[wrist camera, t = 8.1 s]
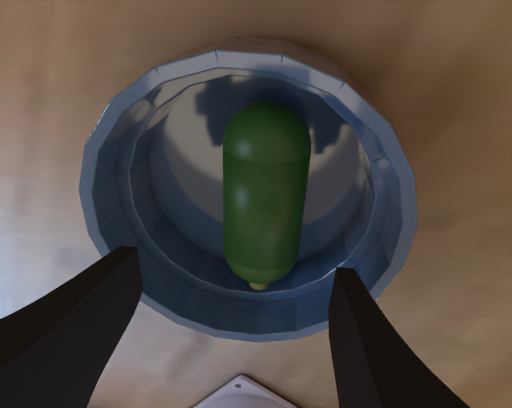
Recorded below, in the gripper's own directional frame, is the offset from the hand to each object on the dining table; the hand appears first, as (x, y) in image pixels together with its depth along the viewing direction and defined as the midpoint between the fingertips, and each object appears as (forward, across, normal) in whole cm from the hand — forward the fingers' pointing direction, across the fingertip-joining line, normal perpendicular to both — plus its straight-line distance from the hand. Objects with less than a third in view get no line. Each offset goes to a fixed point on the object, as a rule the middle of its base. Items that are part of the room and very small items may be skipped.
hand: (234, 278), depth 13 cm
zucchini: (+7, 0, 0) cm, 7 cm away
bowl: (+8, 0, 0) cm, 8 cm away
